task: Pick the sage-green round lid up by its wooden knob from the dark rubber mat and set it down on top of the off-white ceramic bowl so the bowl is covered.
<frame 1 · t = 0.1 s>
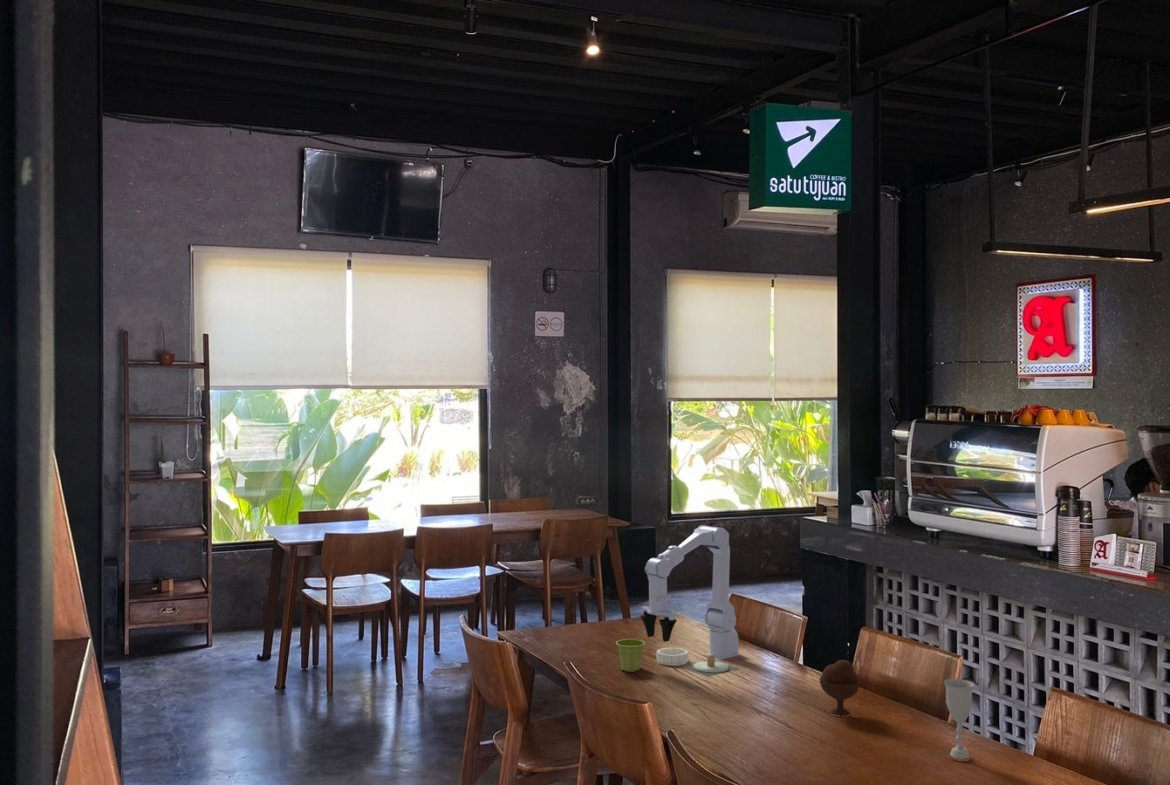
hand: (658, 638, 317), 10 cm above the table, tool pointing down, fingers open, 7 cm apart
lid: (710, 668, 317), resting on mat
bowl: (672, 662, 326), on the table
ice cream bowl: (840, 714, 272), on the table
plant pot: (630, 670, 318), on the table
mat: (710, 669, 317), on the table
chalice: (959, 759, 238), on the table
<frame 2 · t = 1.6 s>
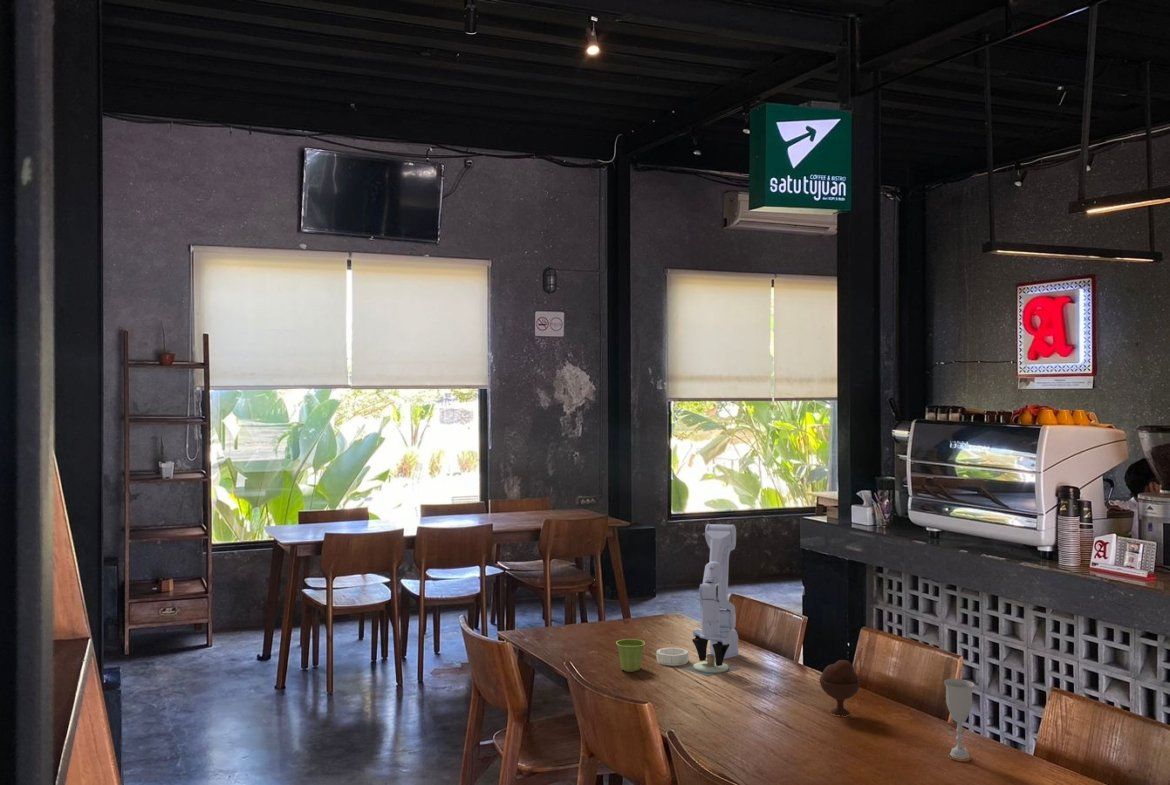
hand: (710, 663, 317), 2 cm above the table, tool pointing down, fingers open, 7 cm apart
nothing on the table moved.
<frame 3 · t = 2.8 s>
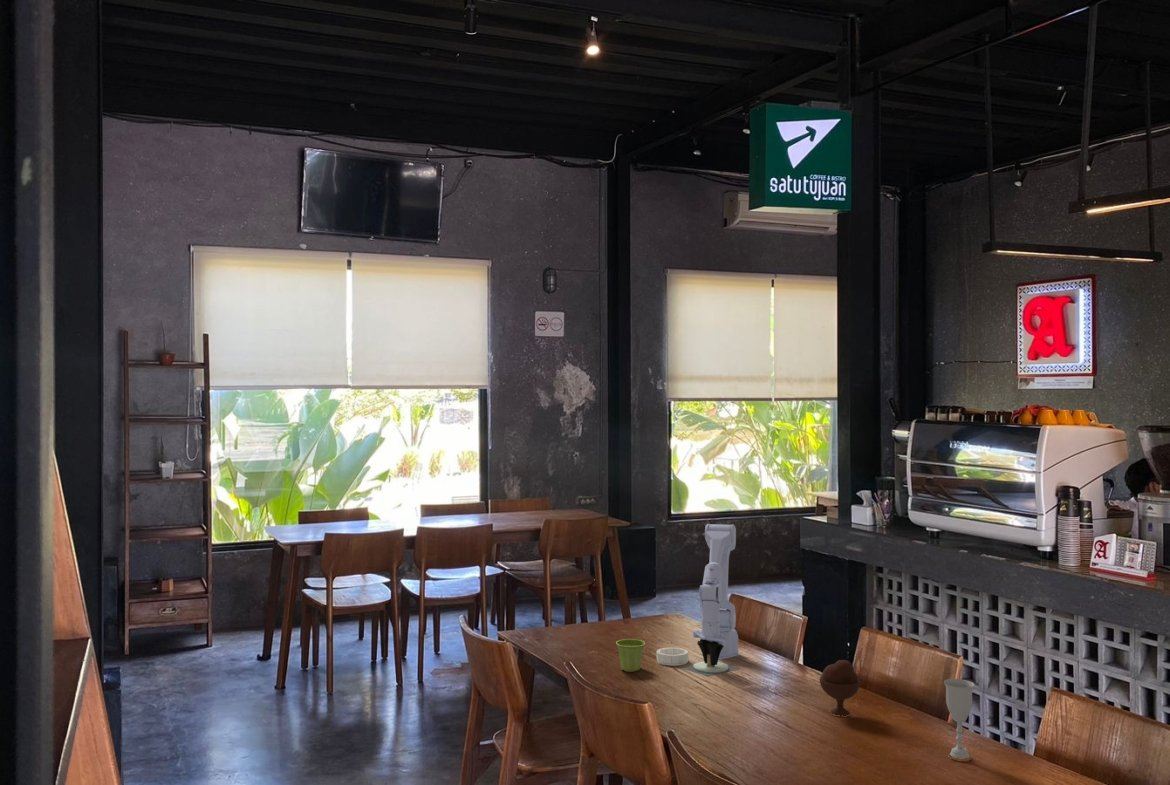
hand: (710, 663, 317), 2 cm above the table, tool pointing down, fingers closed on lid, 2 cm apart
lid: (710, 668, 317), resting on mat, touching gripper
everything else where it was.
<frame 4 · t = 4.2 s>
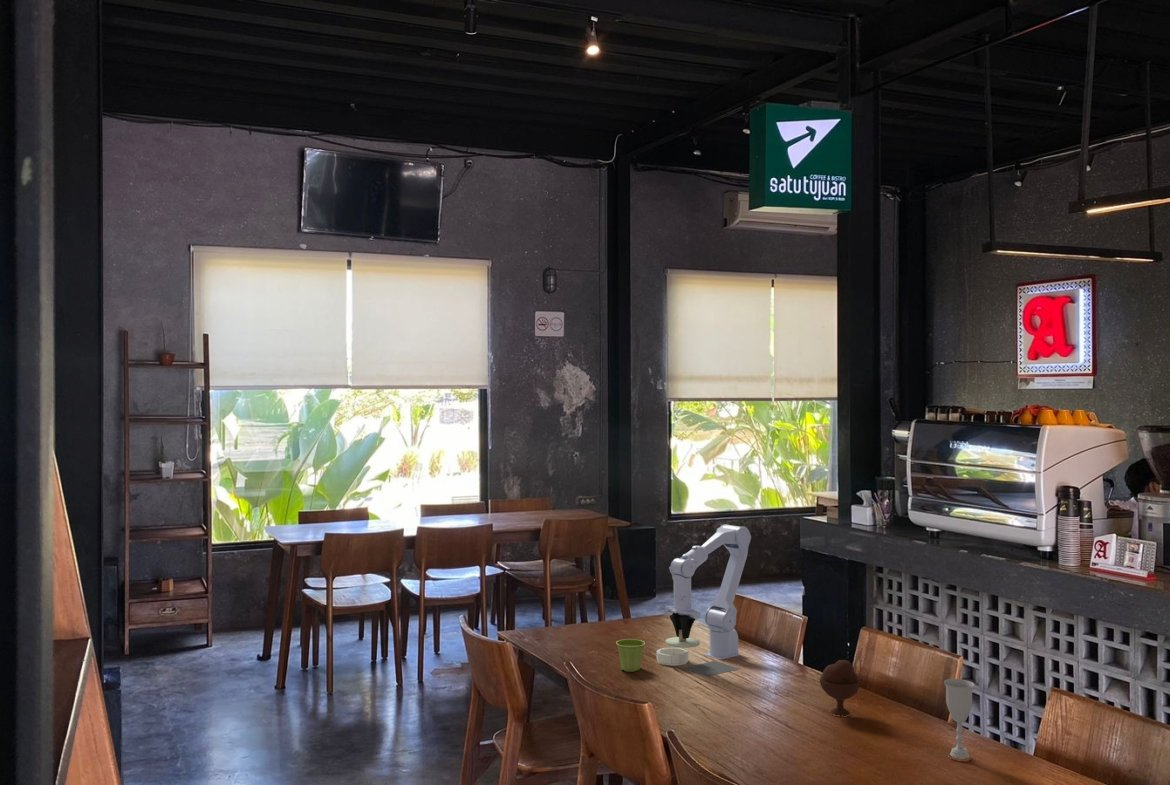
hand: (682, 637, 323), 9 cm above the table, tool pointing down, fingers closed on lid, 2 cm apart
lid: (682, 643, 323), point 7 cm above the table, touching gripper
everything else where it was.
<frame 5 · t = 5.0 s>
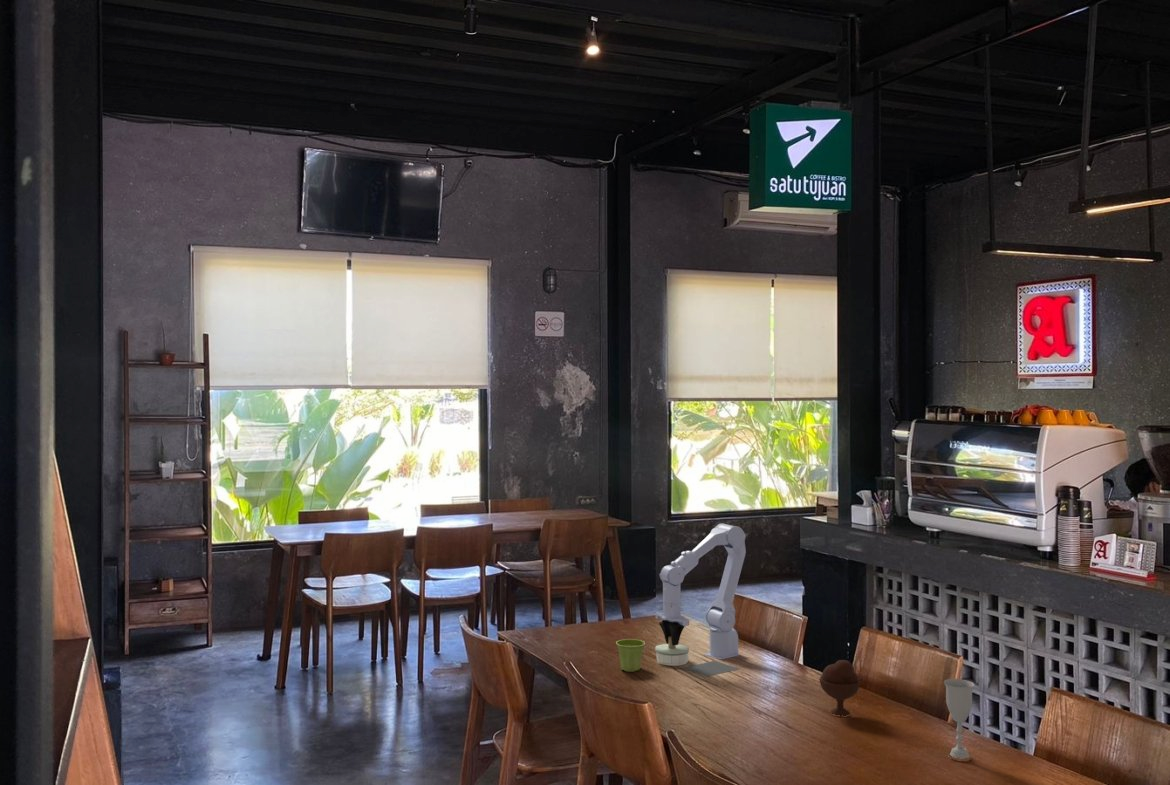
hand: (672, 644, 326), 6 cm above the table, tool pointing down, fingers closed on lid, 2 cm apart
lid: (672, 650, 326), point 4 cm above the table, touching gripper
everything else where it was.
when the fingers open (6 cm above the table, at t = 5.6 s): lid stays where it is, resting on bowl.
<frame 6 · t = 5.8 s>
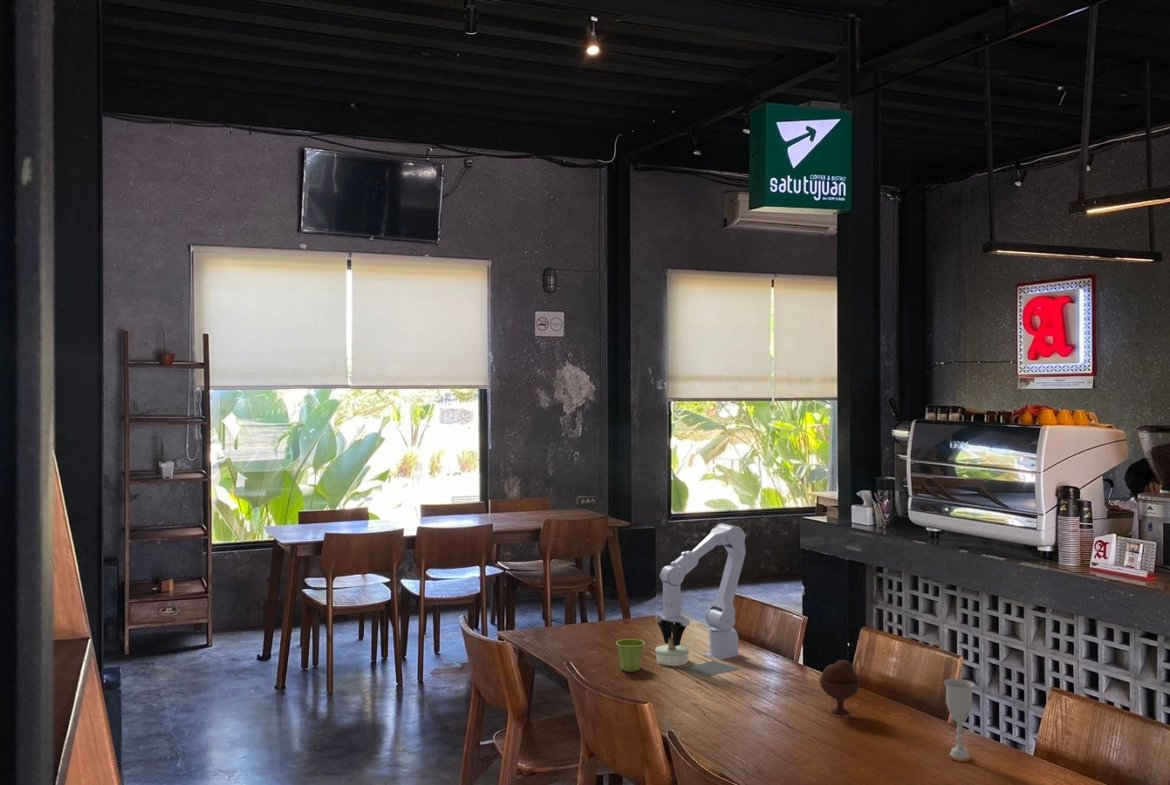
hand: (672, 644, 326), 6 cm above the table, tool pointing down, fingers open, 4 cm apart
lid: (672, 651, 326), point 4 cm above the table, touching bowl
everything else where it was.
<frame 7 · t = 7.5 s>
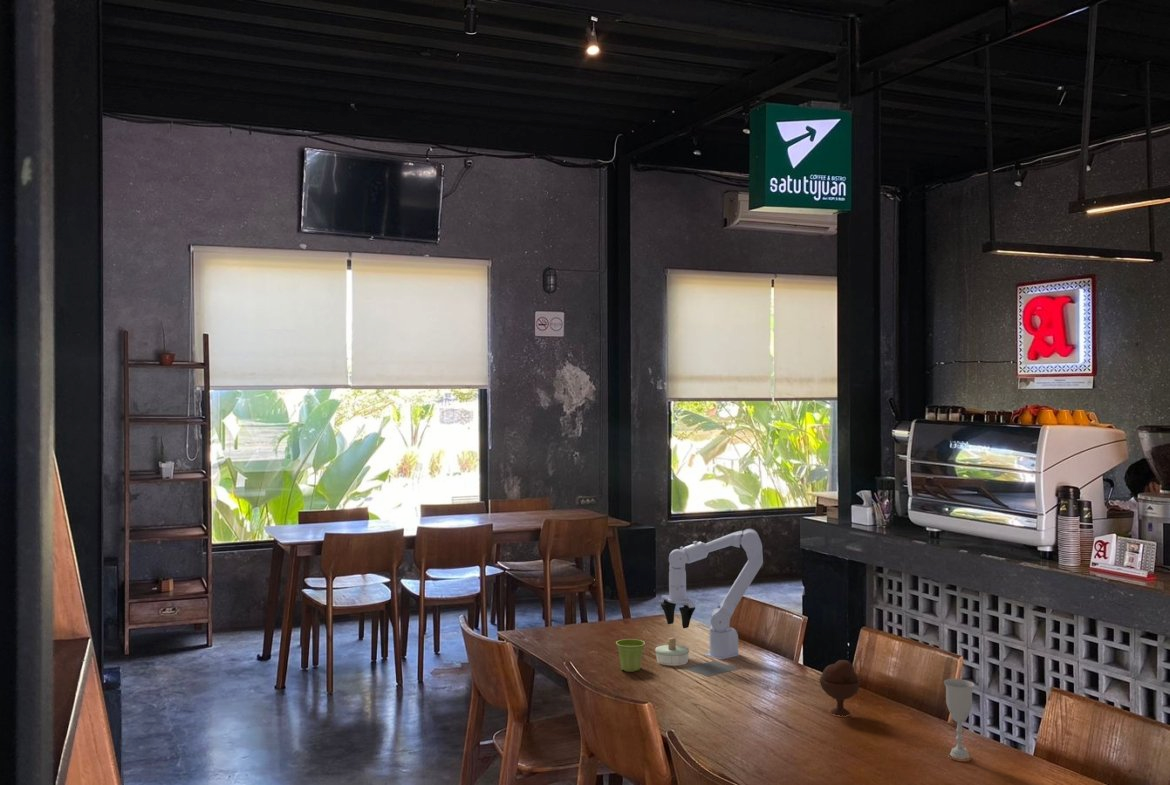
hand: (678, 625, 335), 10 cm above the table, tool pointing down, fingers open, 7 cm apart
nothing on the table moved.
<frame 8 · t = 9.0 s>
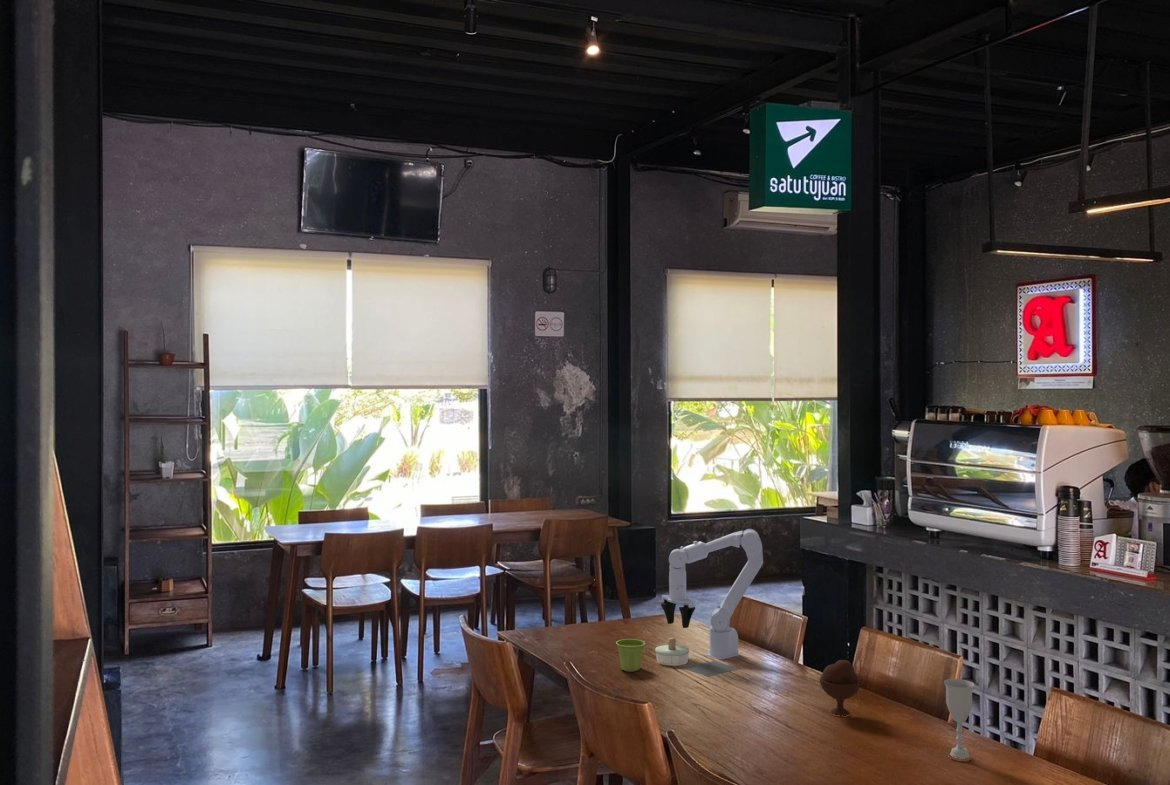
hand: (678, 625, 335), 10 cm above the table, tool pointing down, fingers open, 7 cm apart
nothing on the table moved.
at the end: lid 0.1 cm off-centre on the bowl, point 3.6 cm above the bowl's base; lid tilted 0°; the gripper is holding nothing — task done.
